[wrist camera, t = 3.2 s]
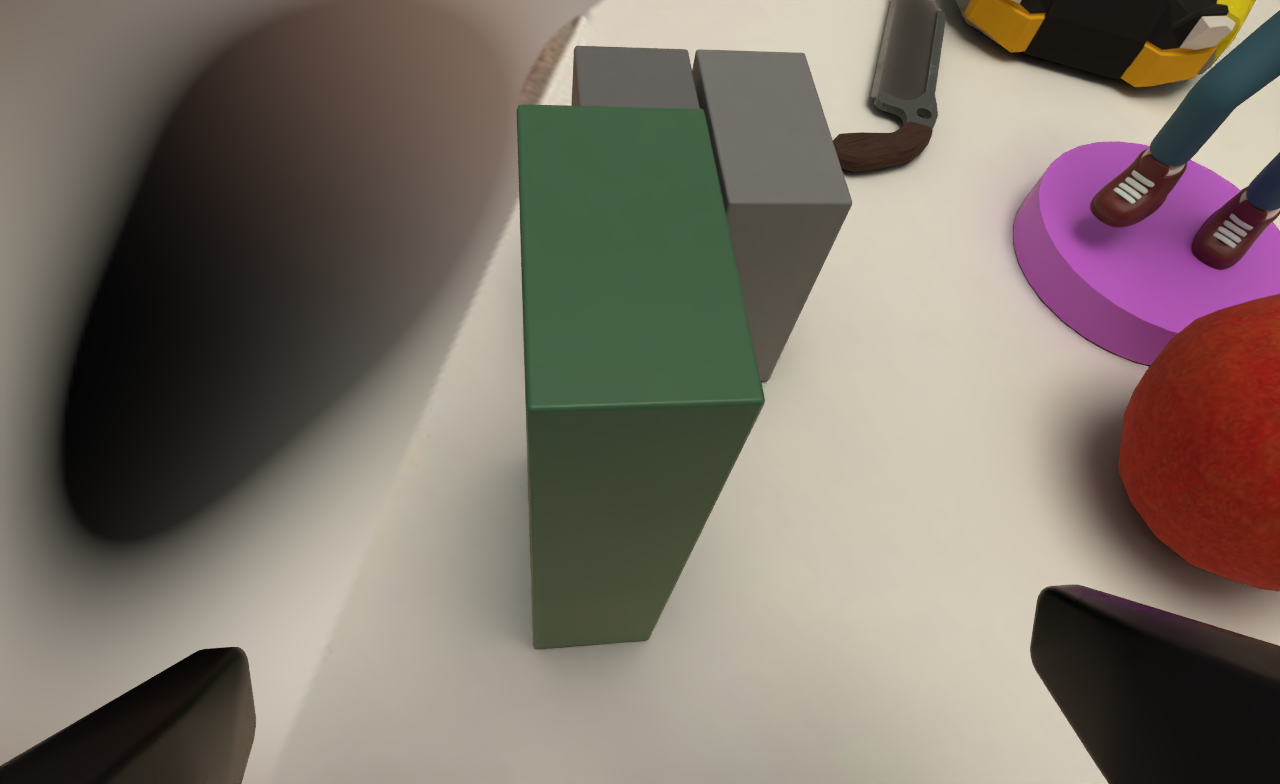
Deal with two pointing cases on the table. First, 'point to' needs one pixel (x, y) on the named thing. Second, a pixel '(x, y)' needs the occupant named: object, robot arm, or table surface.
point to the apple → (1212, 444)
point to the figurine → (1156, 221)
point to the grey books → (746, 163)
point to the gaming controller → (1115, 33)
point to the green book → (625, 360)
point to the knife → (901, 88)
